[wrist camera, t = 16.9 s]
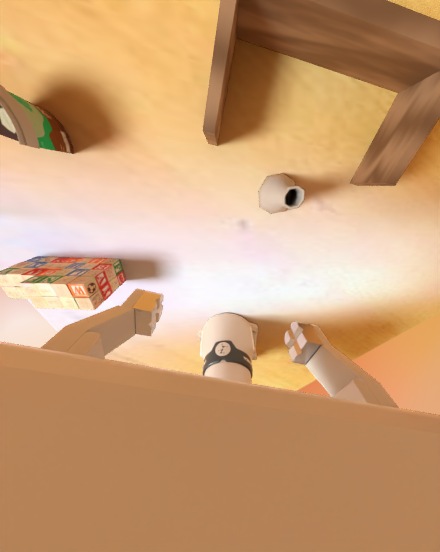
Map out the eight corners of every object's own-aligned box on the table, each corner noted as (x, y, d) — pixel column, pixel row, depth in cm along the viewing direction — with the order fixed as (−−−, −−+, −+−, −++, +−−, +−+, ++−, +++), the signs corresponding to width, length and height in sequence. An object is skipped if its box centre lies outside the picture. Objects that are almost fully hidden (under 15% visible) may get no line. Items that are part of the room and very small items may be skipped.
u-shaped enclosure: (357, 185, 32) (395, 185, 25) (208, 143, 29) (202, 130, 22) (415, 81, 25) (490, 40, 18) (228, 16, 22) (228, -61, 15)
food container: (79, 115, 28) (12, 83, 19) (81, 157, 31) (24, 145, 22) (-2, 82, 26) (-115, 30, 18) (8, 129, 29) (-85, 105, 20)
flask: (263, 170, 31) (277, 164, 22) (300, 176, 31) (329, 173, 22) (253, 210, 34) (263, 219, 26) (287, 216, 35) (307, 226, 26)
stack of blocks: (48, 277, 44) (-9, 307, 34) (36, 256, 41) (-31, 281, 31) (126, 280, 44) (94, 311, 33) (120, 258, 41) (82, 284, 30)
